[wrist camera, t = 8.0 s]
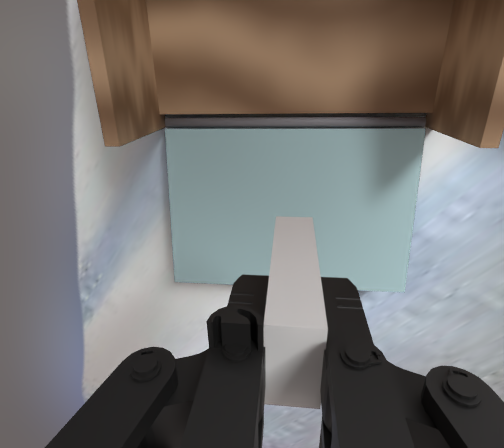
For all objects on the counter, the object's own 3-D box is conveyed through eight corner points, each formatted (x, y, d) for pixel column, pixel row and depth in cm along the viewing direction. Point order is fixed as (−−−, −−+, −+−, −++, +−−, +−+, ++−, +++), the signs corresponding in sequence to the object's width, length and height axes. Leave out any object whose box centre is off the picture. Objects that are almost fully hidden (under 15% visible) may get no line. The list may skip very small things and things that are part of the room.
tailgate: (164, 117, 28) (174, 281, 32) (427, 116, 26) (404, 292, 30) (168, 118, 29) (177, 277, 33) (422, 117, 27) (400, 287, 31)
